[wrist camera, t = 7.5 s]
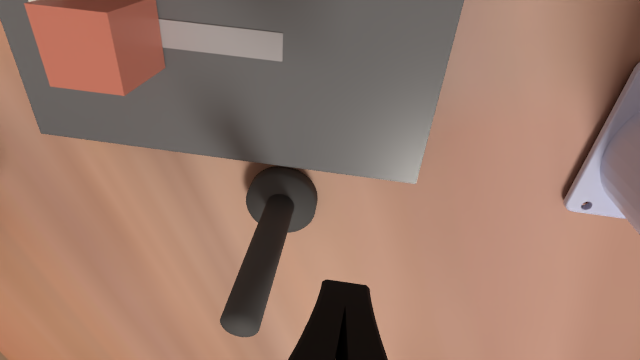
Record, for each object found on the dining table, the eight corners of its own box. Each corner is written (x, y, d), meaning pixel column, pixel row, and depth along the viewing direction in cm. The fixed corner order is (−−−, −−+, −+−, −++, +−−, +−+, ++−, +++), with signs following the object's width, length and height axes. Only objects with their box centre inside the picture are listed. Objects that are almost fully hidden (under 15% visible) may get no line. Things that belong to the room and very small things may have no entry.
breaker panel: (483, -108, 14) (493, -111, 13) (413, 168, 21) (415, 184, 20) (-28, -154, 16) (-65, -161, 14) (59, 121, 22) (40, 133, 21)
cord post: (319, 170, 22) (290, 298, 14) (315, 225, 24) (288, 361, 17) (249, 162, 22) (185, 283, 15) (251, 217, 24) (196, 347, 17)
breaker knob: (155, -4, 16) (107, 12, 13) (165, 67, 18) (124, 95, 15) (86, -12, 16) (23, 3, 14) (102, 60, 18) (50, 86, 15)
